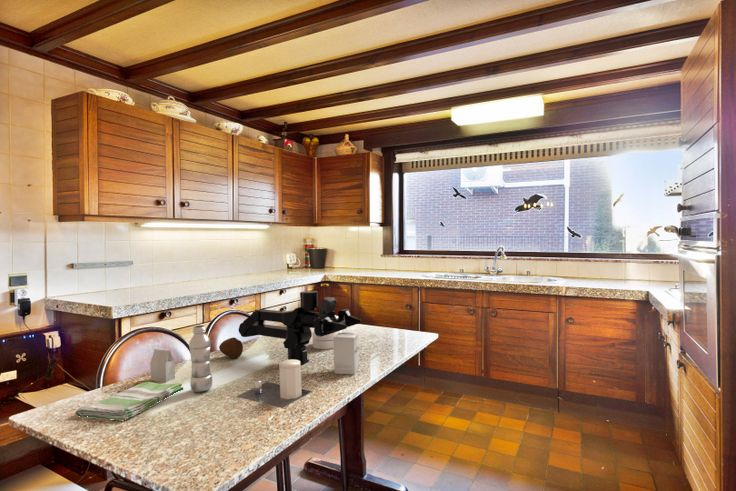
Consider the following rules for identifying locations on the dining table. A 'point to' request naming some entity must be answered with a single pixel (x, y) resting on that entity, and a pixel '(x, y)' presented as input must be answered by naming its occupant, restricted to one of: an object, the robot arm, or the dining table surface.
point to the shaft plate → (269, 394)
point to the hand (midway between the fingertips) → (353, 324)
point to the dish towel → (129, 401)
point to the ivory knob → (290, 379)
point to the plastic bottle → (200, 360)
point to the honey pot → (324, 340)
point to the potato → (231, 347)
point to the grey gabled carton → (162, 366)
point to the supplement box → (346, 353)
